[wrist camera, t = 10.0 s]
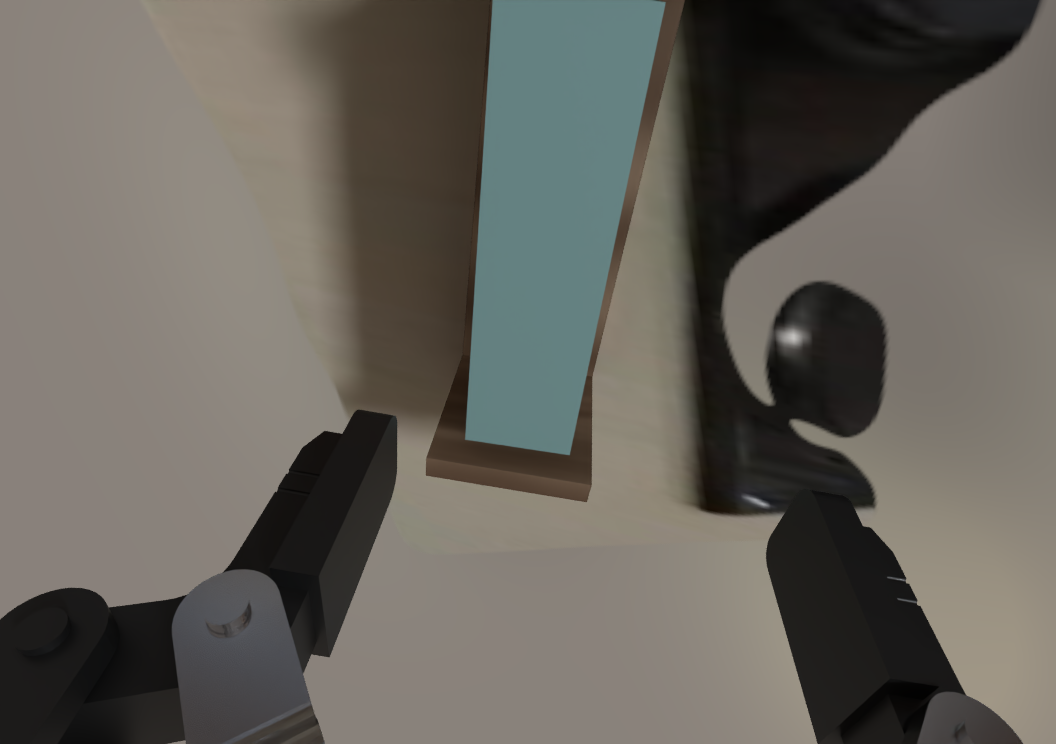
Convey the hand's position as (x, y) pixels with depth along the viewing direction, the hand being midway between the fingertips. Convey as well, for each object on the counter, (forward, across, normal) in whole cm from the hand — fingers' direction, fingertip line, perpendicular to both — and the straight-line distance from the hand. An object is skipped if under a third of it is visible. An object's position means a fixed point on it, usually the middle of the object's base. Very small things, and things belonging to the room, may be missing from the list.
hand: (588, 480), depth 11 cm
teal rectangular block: (+15, +2, +1) cm, 15 cm away
